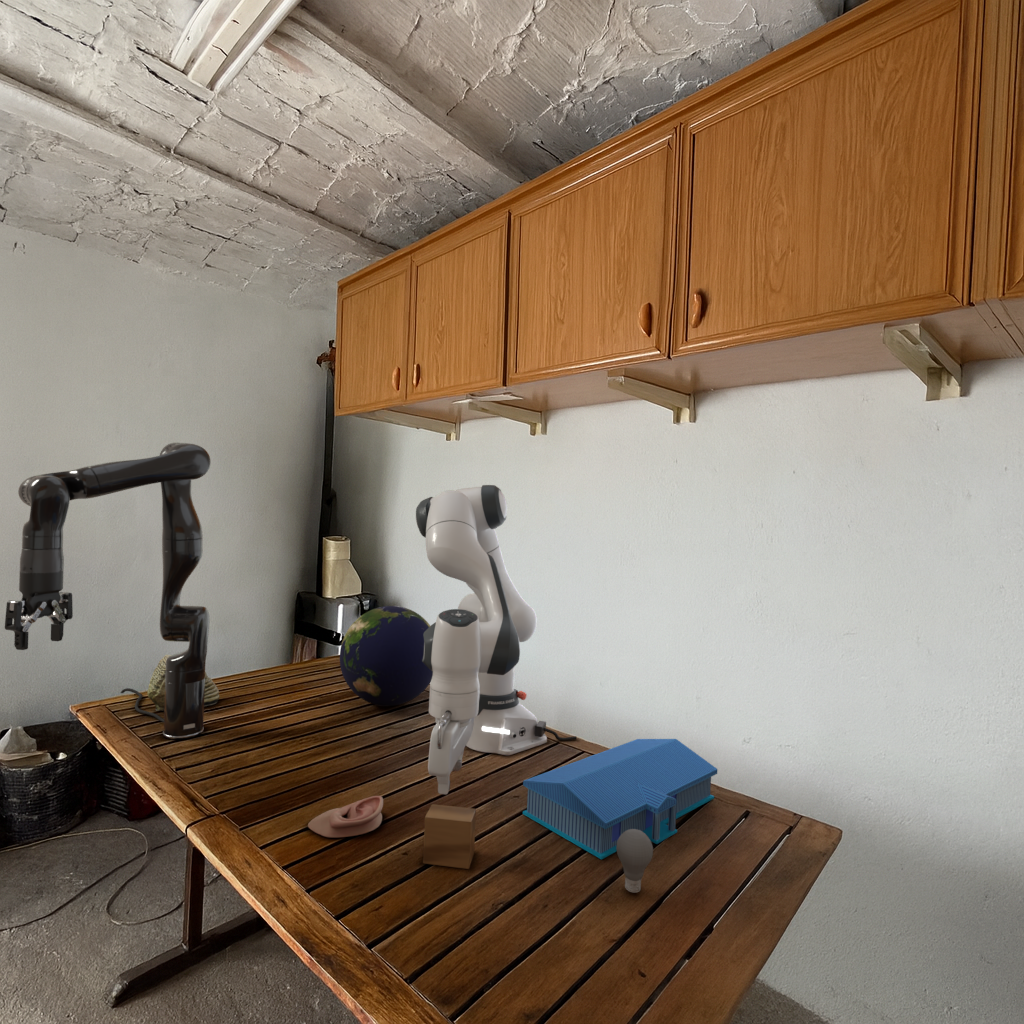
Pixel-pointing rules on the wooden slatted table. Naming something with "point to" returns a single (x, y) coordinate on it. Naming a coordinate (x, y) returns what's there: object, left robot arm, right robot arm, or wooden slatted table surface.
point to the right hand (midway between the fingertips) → (450, 780)
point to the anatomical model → (349, 819)
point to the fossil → (158, 687)
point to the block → (449, 836)
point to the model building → (621, 793)
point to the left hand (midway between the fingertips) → (39, 645)
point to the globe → (386, 656)
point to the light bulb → (634, 857)
